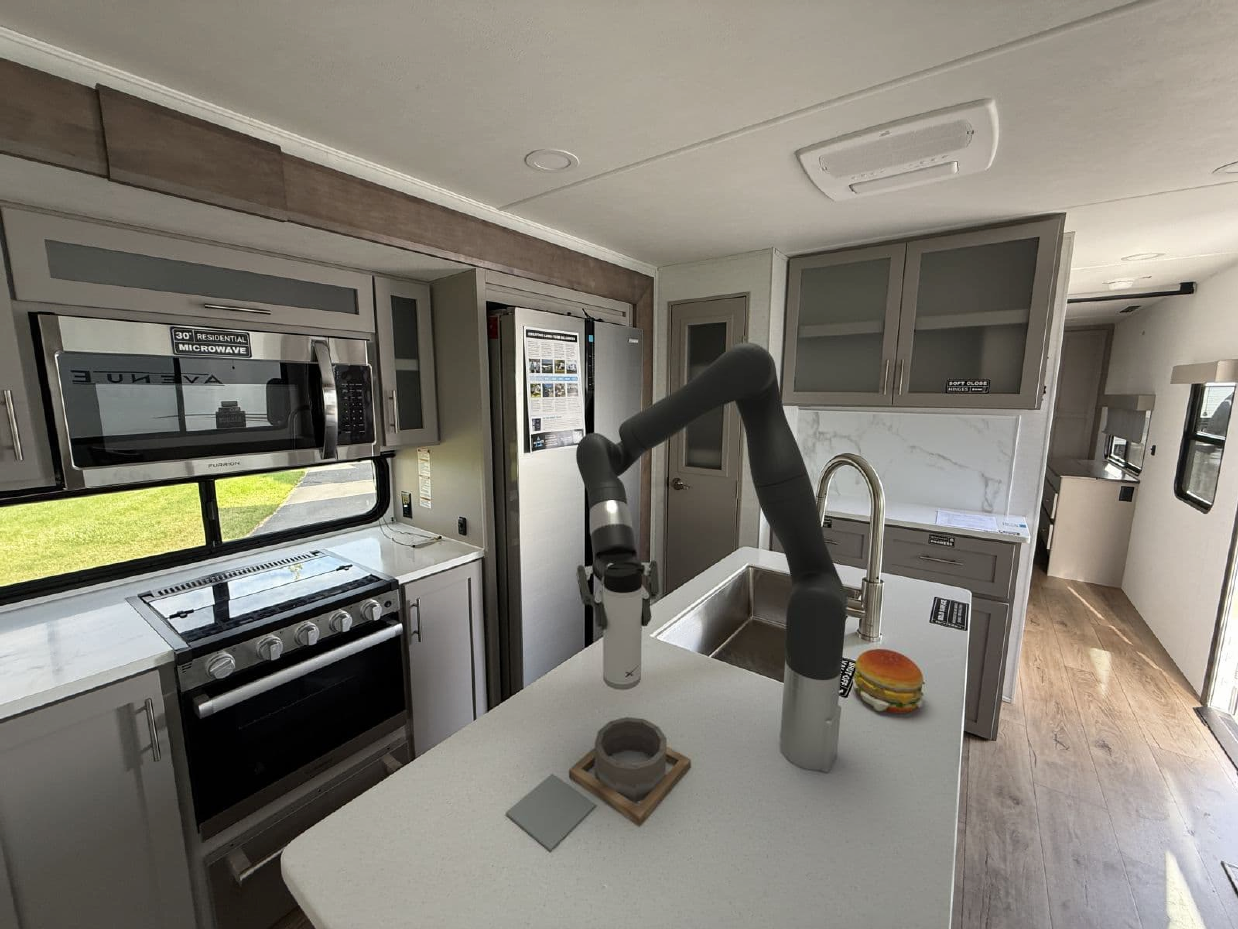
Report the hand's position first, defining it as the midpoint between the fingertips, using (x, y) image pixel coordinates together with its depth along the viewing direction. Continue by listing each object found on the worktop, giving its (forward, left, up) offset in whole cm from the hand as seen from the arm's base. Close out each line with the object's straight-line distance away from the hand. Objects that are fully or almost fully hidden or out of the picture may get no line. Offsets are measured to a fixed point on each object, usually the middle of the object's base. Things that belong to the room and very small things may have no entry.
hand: (624, 626), depth 80 cm
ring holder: (0, -2, -28) cm, 28 cm away
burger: (-30, -52, -29) cm, 67 cm away
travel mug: (+1, -1, -11) cm, 11 cm away
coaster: (+5, +12, -28) cm, 31 cm away
